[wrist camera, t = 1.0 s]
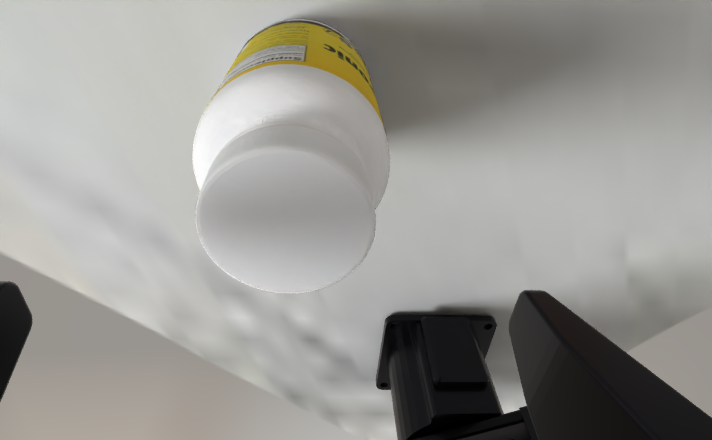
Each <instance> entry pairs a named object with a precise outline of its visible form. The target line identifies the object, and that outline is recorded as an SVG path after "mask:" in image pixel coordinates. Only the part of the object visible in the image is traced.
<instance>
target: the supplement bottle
mask: <svg viewBox="0 0 712 440" xmlns="http://www.w3.org/2000/svg"><path fill="white" fill-rule="evenodd" d="M192 158H193V168H194V173H195V177H196V181H197V184H198V187H199V190H200V193H199V196H198V200H197V205H196V214H195V218H196V227H197V232H198V235H199V238H200V241H201V243H202V245H203V247H204V249H205V250H206V252H207V253H208V255H209V256H210V258H211V259H212V260H213V261H214V262H215V264H216V265H218V266H219V267H220V268H221V269H222V270H223V271H224V272H225V273H227V274H228V275H230V276H231V277H233V278H235V279H236V280H238V281H240V282H242V283H243V284H246V285H248V286H251V287H254V288H256V289H260V290H264V291H269V292H274V293H283V294H295V293H305V292H311V291H316V290H319V289H322V288H325V287H328V286H330V285H332V284H334V283H336V282H338V281H340V280H342V279H343V278H345V277H346V276H347V275H349V274H350V273H351V272H353V271H354V270H355V269H356V268H357V267H358V266H359V265H360V263H361V262H362V261H363V259H364V258H365V257H366V255H367V253H368V251H369V249H370V247H371V245H372V242H373V239H374V235H375V226H376V214H375V209H376V208H377V206H378V204H379V203H380V201H381V199H382V197H383V194H384V192H385V189H386V186H387V182H388V178H389V170H390V154H389V146H388V141H387V136H386V131H385V128H384V125H383V122H382V118H381V115H380V111H379V107H378V104H377V100H376V97H375V94H374V90H373V87H372V84H371V80H370V77H369V74H368V70H367V68H366V66H365V63H364V61H363V59H362V57H361V55H360V54H359V52H358V51H357V49H356V48H355V46H354V45H353V44H352V43H351V42H350V41H349V40H348V39H347V38H346V37H345V36H344V35H342V34H341V33H340V32H338V31H337V30H336V29H334V28H332V27H330V26H328V25H325V24H323V23H320V22H317V21H312V20H306V19H291V20H284V21H281V22H277V23H274V24H272V25H270V26H268V27H266V28H264V29H262V30H261V31H259V32H258V33H257V34H255V35H254V36H253V37H252V38H251V39H250V40H249V41H248V42H247V43H246V44H245V45H244V47H243V48H242V50H241V51H240V53H239V54H238V56H237V58H236V59H235V61H234V63H233V65H232V66H231V68H230V69H229V71H228V73H227V75H226V76H225V78H224V79H223V81H222V83H221V84H220V86H219V88H218V89H217V91H216V93H215V94H214V96H213V97H212V99H211V101H210V102H209V104H208V105H207V107H206V109H205V111H204V113H203V115H202V117H201V120H200V122H199V125H198V127H197V130H196V134H195V138H194V143H193V157H192Z"/></svg>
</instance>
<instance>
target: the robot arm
mask: <svg viewBox="0 0 712 440" xmlns="http://www.w3.org/2000/svg"><path fill="white" fill-rule="evenodd" d="M393 323H396V324H393ZM31 326H32V315H31V312H30V310H29V308H28V306H27V304H26V301H25V299H24V297H23V295H22V293H21V291H20V289H19V287H18V286H17V285H16V284H15V283H13V282H9V281H8V282H7V281H0V401H1V399H2V397H3V395H4V392H5V390H6V387H7V385H8V383H9V380H10V378H11V375H12V373H13V370H14V368H15V366H16V363H17V361H18V358H19V356H20V354H21V351H22V349H23V347H24V344H25V342H26V339H27V337H28V335H29V332H30V330H31ZM496 327H497V324H496V322H495V319H494V317H492V316H477V315H391V316H388V317H387V318H386V320H385V325H384V331H383V337H382V344H381V350H380V356H379V363H378V369H377V375H376V386H377V388H378V389H382V390H391V394H392V401H393V409H394V416H395V423H396V431H397V438H398V440H712V418H711V417H710V416H708V415H707V414H706V413H704V412H703V411H702V410H701V409H699V408H698V407H696V406H695V405H694V404H693V403H692V402H690V401H689V400H688V399H686V398H685V397H684V396H682V395H681V394H680V393H678V392H677V391H676V390H674V389H673V388H672V387H671V386H669V385H668V384H666V383H665V382H664V381H663V380H661V379H660V378H659V377H657V376H656V375H655V374H653V373H652V372H651V371H650V370H648V369H647V368H646V367H644V366H643V365H642V364H640V363H639V362H638V361H636V360H635V359H634V358H632V357H631V356H630V355H628V354H627V353H626V352H625V351H623V350H622V349H621V348H619V347H618V346H617V345H615V344H614V343H613V342H611V341H610V340H609V339H607V338H606V337H605V336H604V335H602V334H601V333H600V332H598V331H597V330H596V329H594V328H593V327H592V326H590V325H589V324H588V323H586V322H585V321H584V320H583V319H581V318H580V317H579V316H577V315H576V314H575V313H573V312H572V311H571V310H569V309H568V308H567V307H565V306H564V305H563V304H562V303H560V302H559V301H558V300H556V299H555V298H554V297H552V296H551V295H550V294H548V293H547V292H545V291H541V290H525V291H523V292H521V293H520V295H519V297H518V300H517V302H516V305H515V307H514V310H513V313H512V315H511V318H510V321H509V332H510V337H511V341H512V345H513V350H514V354H515V358H516V362H517V367H518V371H519V375H520V379H521V384H522V388H523V392H524V396H525V400H526V404H527V406H525V407H521V408H519V409H520V410H518V411H514V412H510V413H507V414H504V413H503V411H502V408H501V405H500V402H499V399H498V396H497V394H496V391H495V388H494V385H493V382H492V379H491V377H490V374H489V371H488V368H487V365H486V362H485V360H484V359H485V357H486V354H487V351H488V349H489V346H490V343H491V340H492V338H493V335H494V332H495V330H496Z"/></svg>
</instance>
